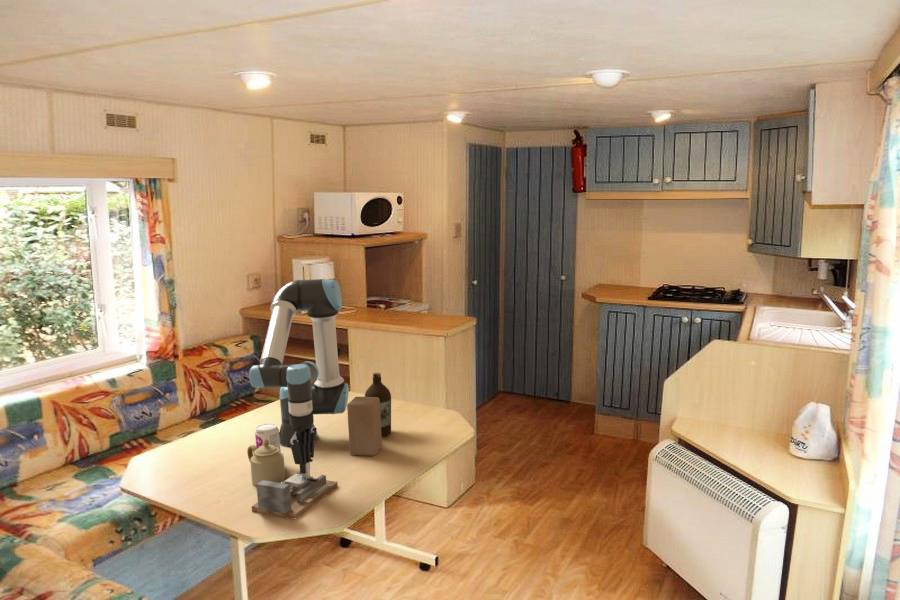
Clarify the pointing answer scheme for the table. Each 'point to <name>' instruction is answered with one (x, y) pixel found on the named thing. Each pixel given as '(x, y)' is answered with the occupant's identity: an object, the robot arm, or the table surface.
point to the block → (364, 426)
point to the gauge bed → (298, 505)
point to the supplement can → (267, 435)
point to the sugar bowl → (266, 463)
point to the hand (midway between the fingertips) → (305, 481)
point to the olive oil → (381, 402)
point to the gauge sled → (299, 482)
